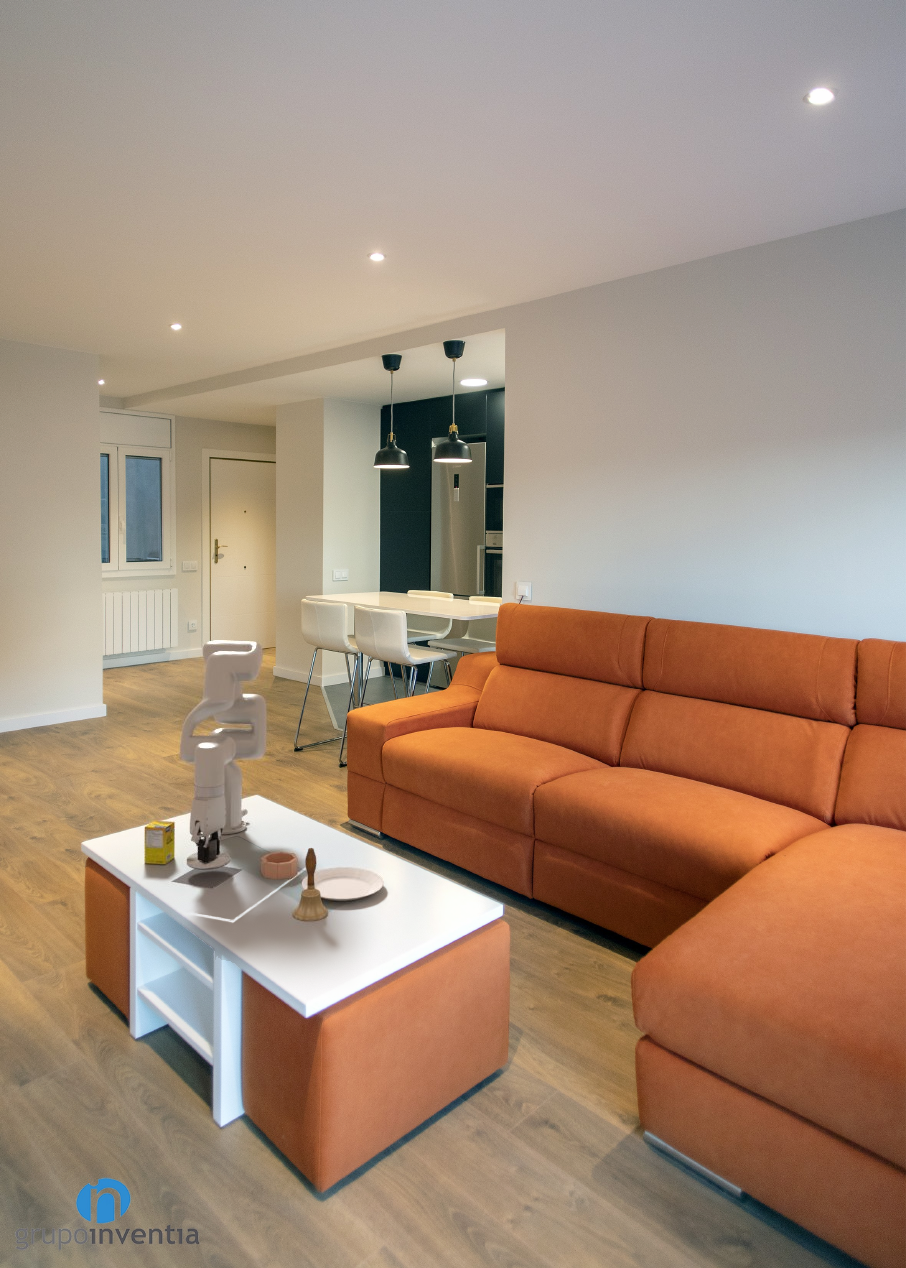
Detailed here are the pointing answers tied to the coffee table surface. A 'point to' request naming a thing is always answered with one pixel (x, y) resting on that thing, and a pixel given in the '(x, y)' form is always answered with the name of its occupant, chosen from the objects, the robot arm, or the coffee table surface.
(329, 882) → the plate
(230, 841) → the coffee table surface
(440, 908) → the coffee table surface
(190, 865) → the lid
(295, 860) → the hollow octagonal tube
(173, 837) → the supplement box
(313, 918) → the hand bell
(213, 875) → the mat
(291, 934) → the coffee table surface
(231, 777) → the robot arm
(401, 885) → the coffee table surface
